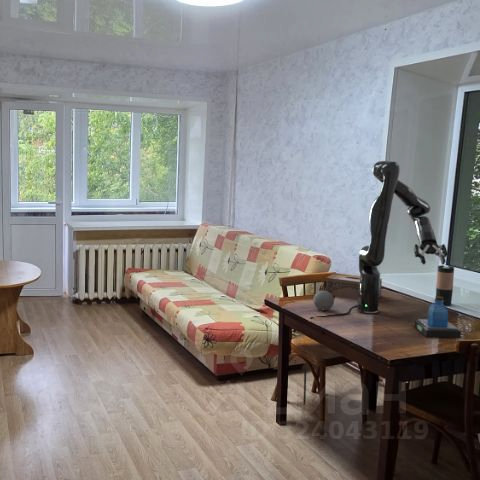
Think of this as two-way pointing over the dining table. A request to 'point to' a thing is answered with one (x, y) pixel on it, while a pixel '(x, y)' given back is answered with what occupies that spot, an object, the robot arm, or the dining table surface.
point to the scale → (437, 331)
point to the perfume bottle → (438, 313)
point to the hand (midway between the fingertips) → (433, 263)
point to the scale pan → (433, 327)
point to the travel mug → (445, 283)
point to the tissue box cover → (345, 285)
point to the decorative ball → (323, 300)
